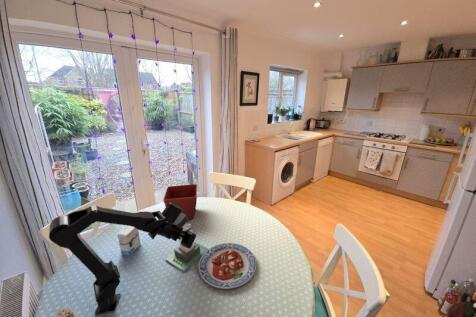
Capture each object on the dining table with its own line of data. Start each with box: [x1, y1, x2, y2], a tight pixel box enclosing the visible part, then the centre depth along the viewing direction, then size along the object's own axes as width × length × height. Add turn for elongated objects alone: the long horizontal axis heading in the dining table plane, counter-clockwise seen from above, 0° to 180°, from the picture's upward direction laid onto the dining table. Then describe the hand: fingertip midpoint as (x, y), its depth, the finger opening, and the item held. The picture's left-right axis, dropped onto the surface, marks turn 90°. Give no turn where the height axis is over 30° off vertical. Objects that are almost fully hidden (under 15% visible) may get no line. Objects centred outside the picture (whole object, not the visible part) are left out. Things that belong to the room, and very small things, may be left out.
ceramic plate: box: [198, 242, 257, 290], centre depth 92 cm, size 26×26×3 cm
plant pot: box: [162, 183, 198, 220], centre depth 130 cm, size 19×19×17 cm
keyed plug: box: [178, 222, 194, 254], centre depth 96 cm, size 5×4×13 cm
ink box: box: [117, 225, 141, 256], centre depth 101 cm, size 8×5×12 cm, turn 168°
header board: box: [165, 241, 209, 273], centre depth 98 cm, size 16×12×4 cm
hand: (188, 237), depth 97 cm, fingers closed on keyed plug, 4 cm apart
